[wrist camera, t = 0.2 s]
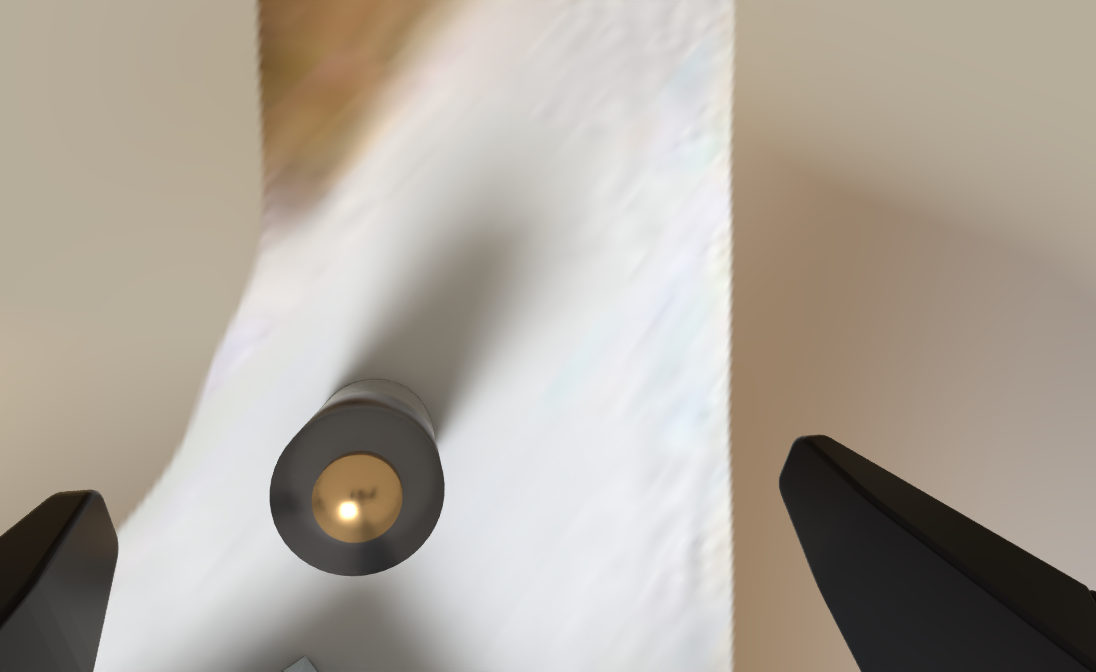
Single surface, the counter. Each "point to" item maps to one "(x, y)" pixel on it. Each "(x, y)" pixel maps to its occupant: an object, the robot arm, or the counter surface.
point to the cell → (360, 481)
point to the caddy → (301, 666)
